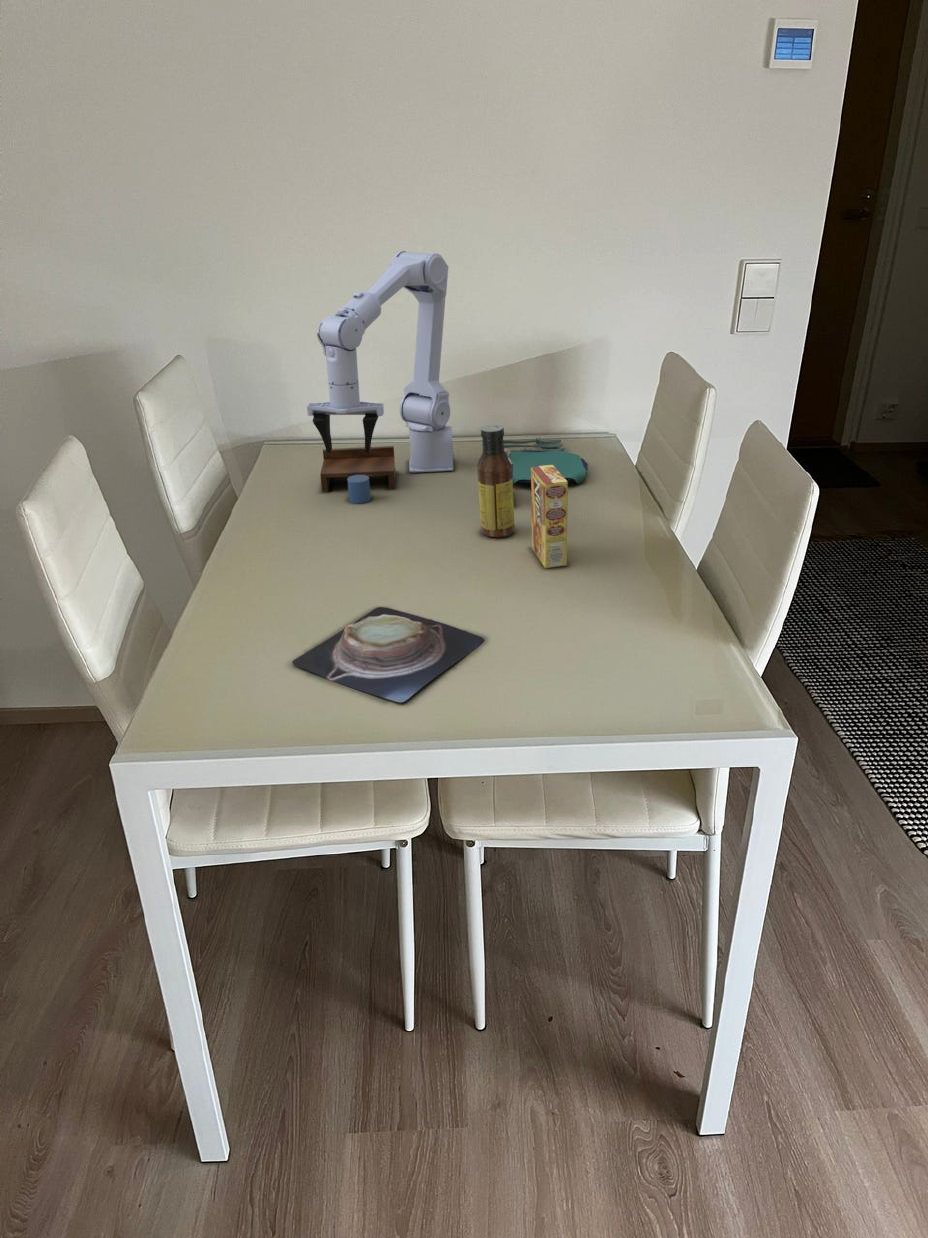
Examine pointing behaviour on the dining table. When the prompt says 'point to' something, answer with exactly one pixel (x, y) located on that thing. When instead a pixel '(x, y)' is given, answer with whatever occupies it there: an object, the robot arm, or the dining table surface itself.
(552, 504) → the candy box
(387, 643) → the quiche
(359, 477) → the blue cup
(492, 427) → the sauce bottle
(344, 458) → the shelf
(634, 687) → the dining table surface
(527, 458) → the cutlery set
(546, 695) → the dining table surface
